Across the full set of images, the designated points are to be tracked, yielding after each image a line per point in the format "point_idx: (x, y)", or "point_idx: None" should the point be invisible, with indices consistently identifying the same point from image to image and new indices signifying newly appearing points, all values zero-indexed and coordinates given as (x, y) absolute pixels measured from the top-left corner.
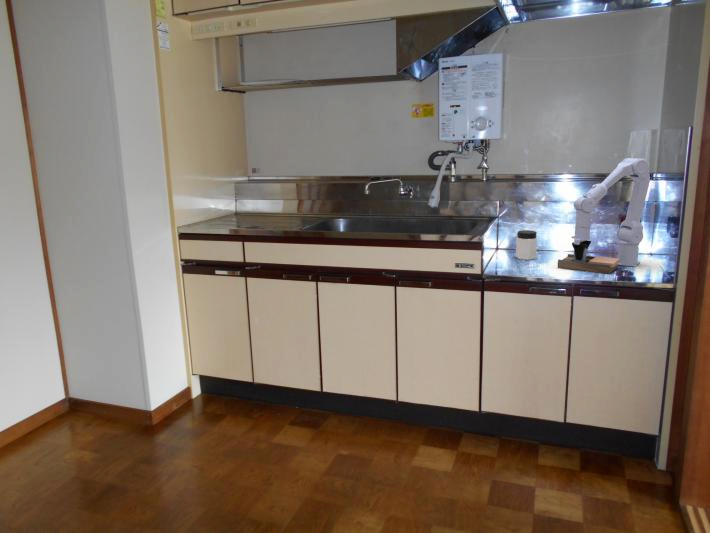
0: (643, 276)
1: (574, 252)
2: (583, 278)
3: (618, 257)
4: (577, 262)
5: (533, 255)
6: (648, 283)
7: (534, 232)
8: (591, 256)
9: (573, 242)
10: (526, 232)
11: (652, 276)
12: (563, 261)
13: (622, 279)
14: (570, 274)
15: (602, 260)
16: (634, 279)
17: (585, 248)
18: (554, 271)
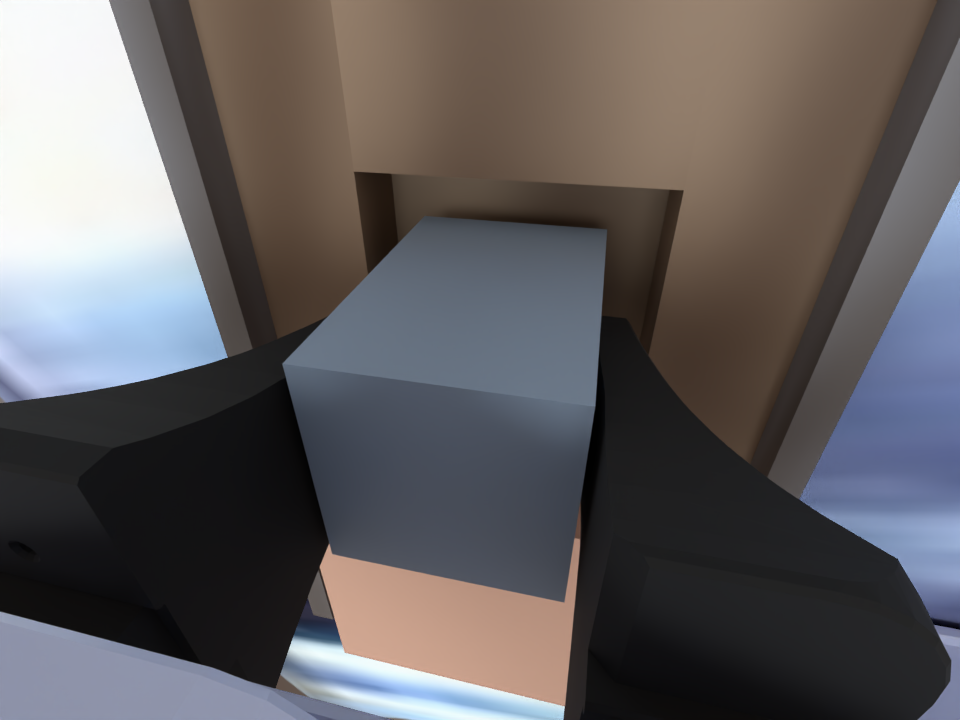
0: (438, 684)
1: (335, 318)
2: (61, 385)
3: (928, 713)
4: (229, 337)
5: None
6: (285, 672)
7: None
8: (788, 484)
9: (45, 495)
10: None
11: (471, 715)
12: (159, 86)
13: None
14: (71, 255)
15: (431, 597)
16: (322, 640)
17: (487, 574)
18: (4, 5)
